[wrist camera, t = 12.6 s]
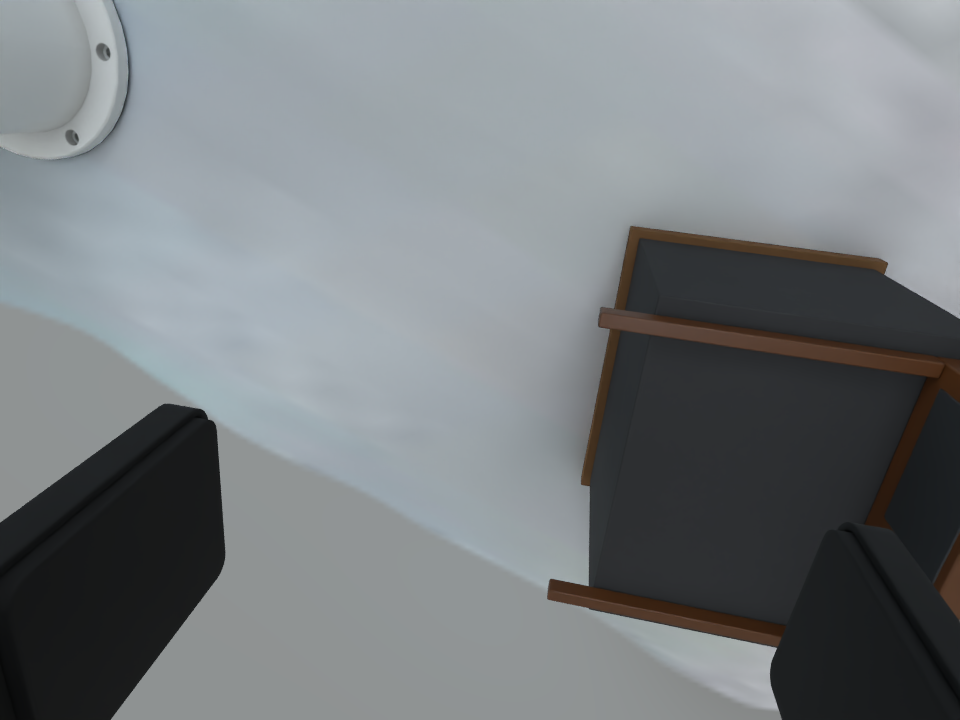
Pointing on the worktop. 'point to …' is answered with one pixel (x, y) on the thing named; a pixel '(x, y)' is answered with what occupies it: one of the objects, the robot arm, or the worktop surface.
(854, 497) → the wood-trimmed dark box
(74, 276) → the worktop surface
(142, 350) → the worktop surface
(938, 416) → the brown angular bar frame
